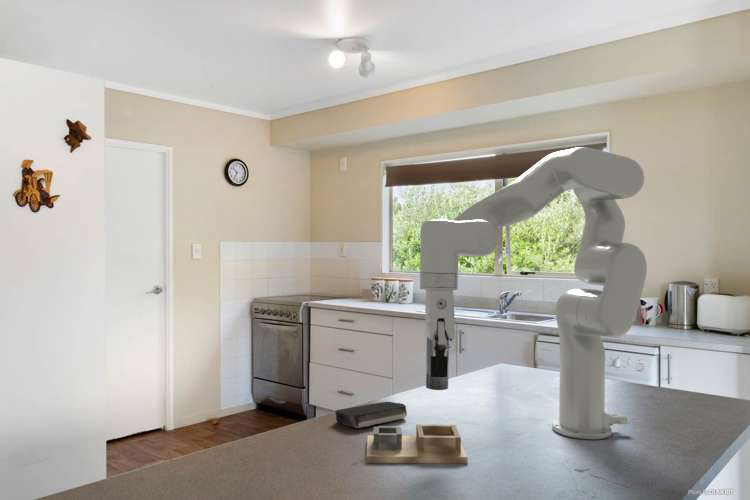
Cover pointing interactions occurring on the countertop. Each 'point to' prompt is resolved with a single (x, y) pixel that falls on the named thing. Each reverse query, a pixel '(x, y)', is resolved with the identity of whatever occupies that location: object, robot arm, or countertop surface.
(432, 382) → the bottle
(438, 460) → the holder
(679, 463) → the countertop surface
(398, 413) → the black sponge
